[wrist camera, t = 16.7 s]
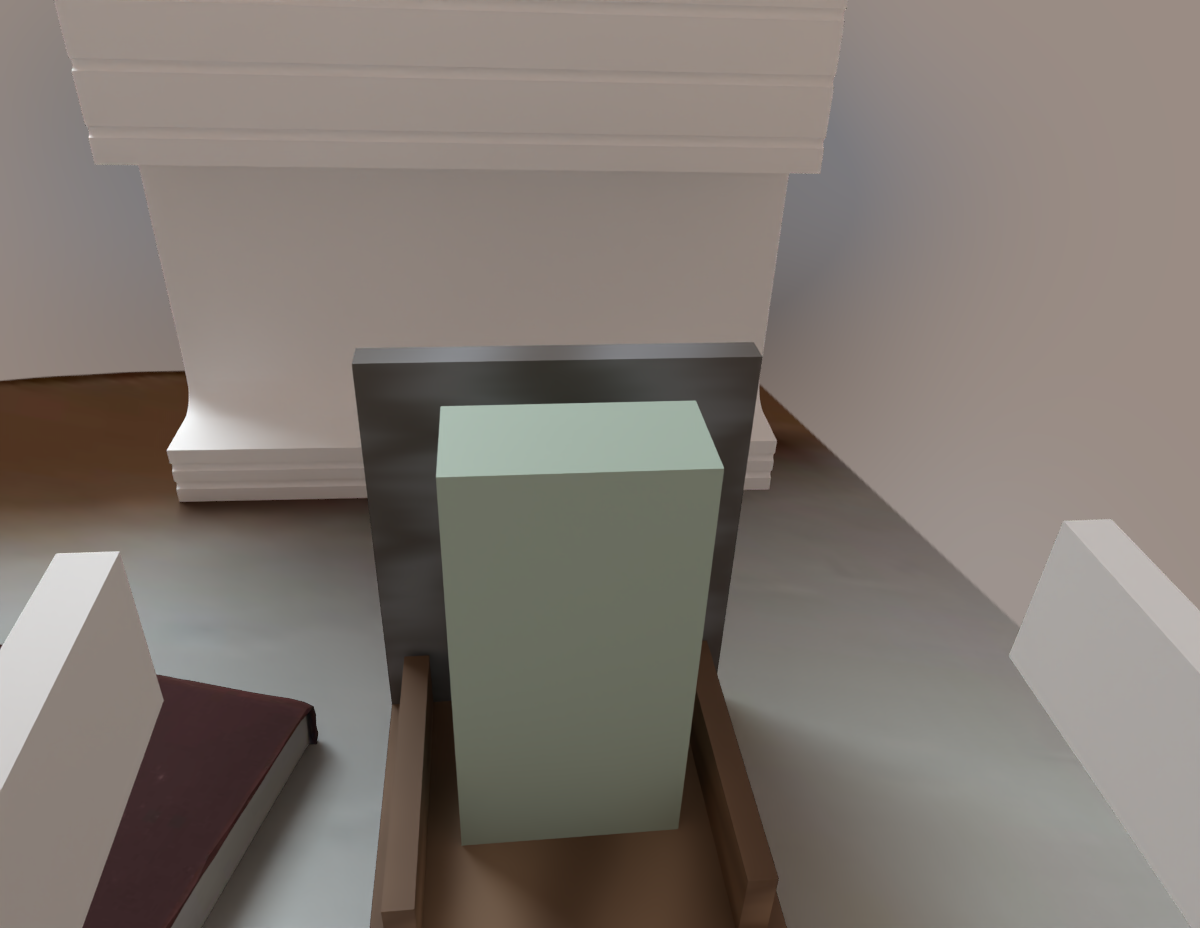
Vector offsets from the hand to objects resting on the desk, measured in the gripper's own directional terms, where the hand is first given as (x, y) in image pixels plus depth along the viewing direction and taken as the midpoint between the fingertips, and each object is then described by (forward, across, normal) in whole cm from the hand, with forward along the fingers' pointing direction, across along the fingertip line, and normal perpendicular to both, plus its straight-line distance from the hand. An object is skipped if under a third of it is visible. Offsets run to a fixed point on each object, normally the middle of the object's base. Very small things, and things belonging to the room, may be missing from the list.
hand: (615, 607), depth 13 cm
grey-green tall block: (+13, +1, -21) cm, 25 cm away
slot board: (+13, +1, -23) cm, 26 cm away
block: (+40, -2, -24) cm, 46 cm away
